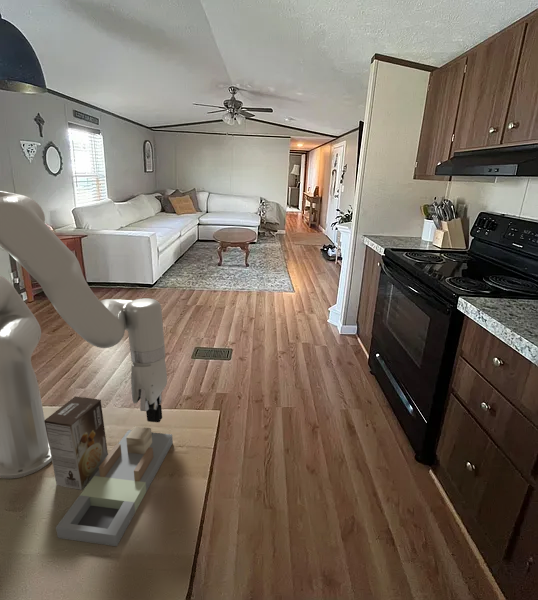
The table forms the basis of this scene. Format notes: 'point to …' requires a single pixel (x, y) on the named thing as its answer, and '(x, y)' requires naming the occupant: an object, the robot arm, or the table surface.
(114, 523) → the recessed deck with rails
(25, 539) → the table surface
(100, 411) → the coffee box
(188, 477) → the table surface
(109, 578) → the table surface
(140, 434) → the cream block
